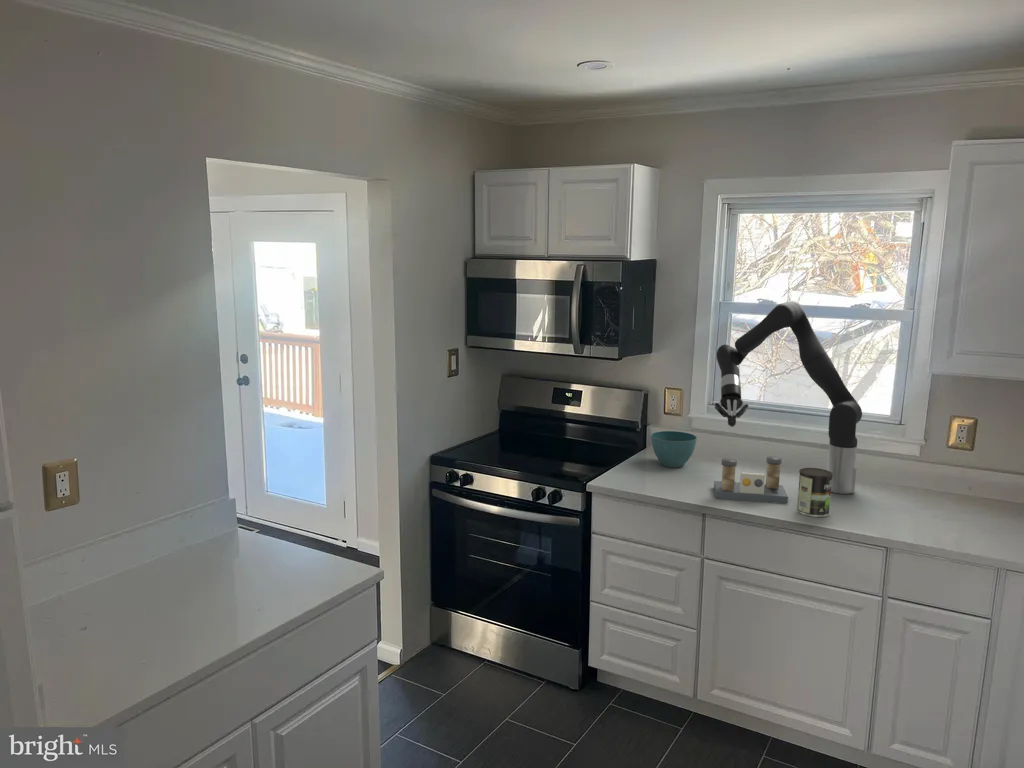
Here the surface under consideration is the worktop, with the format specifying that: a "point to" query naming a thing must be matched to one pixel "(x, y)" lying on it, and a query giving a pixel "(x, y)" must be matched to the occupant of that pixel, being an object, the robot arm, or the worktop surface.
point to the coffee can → (814, 492)
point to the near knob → (773, 472)
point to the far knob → (728, 474)
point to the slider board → (751, 490)
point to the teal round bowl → (673, 447)
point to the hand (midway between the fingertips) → (732, 425)
